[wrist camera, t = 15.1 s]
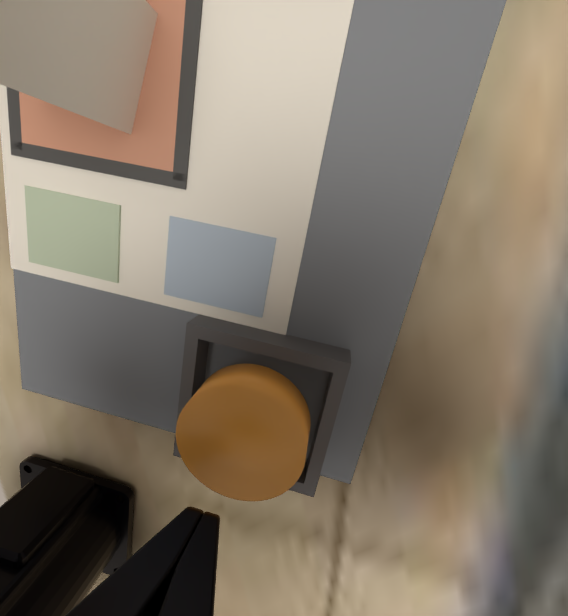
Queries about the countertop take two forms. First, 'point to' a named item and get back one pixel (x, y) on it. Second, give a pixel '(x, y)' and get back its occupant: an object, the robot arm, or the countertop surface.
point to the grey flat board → (243, 208)
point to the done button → (245, 433)
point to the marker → (78, 54)
